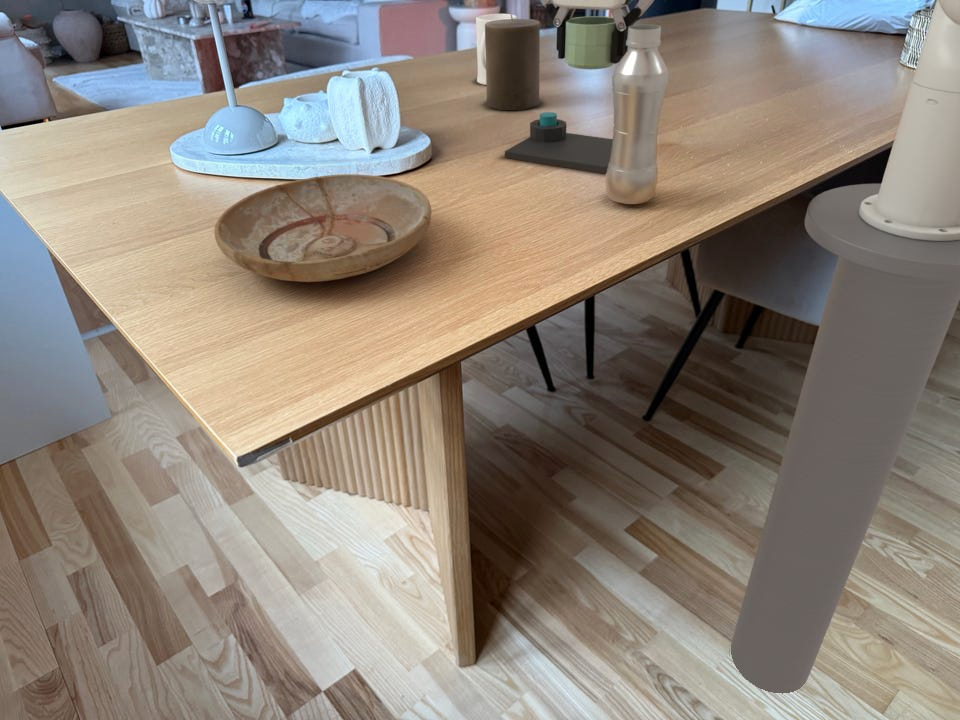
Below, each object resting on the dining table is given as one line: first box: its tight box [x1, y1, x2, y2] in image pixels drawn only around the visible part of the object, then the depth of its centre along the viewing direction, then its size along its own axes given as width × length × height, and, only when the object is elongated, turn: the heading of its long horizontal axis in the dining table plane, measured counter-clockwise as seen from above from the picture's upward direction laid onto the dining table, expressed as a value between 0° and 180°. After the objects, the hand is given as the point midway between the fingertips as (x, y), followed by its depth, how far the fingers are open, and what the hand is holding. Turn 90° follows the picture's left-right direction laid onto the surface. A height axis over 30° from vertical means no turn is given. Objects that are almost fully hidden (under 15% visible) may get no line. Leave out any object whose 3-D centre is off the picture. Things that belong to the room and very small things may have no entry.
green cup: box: [564, 15, 616, 70], centre depth 94 cm, size 7×7×6 cm
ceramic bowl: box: [213, 173, 432, 283], centre depth 77 cm, size 23×24×5 cm
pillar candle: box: [485, 14, 541, 111], centre depth 124 cm, size 10×10×15 cm
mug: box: [475, 13, 518, 86], centre depth 140 cm, size 12×8×12 cm
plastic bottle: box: [604, 23, 669, 205], centre depth 83 cm, size 6×7×20 cm
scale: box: [504, 118, 613, 175], centre depth 103 cm, size 16×12×3 cm
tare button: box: [539, 111, 558, 127], centre depth 107 cm, size 3×3×2 cm
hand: (590, 58), depth 95 cm, fingers closed on green cup, 7 cm apart
